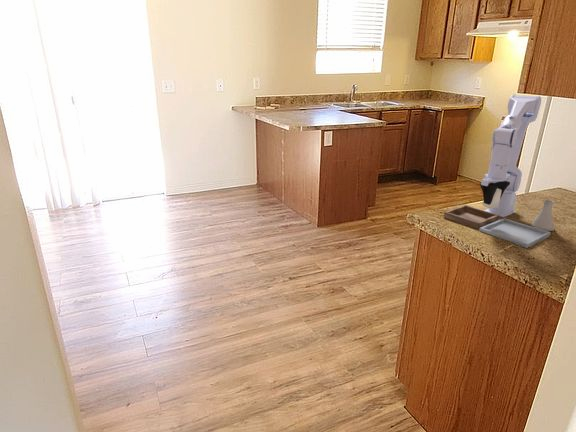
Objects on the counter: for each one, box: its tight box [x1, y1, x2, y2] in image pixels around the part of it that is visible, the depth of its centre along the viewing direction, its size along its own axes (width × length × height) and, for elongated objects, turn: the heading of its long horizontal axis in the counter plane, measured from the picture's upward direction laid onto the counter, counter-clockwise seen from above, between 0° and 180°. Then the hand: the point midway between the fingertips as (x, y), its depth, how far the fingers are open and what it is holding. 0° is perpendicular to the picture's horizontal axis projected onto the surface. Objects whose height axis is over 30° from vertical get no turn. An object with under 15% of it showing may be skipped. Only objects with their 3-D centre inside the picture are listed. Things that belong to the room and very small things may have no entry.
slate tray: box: [478, 217, 552, 249], centre depth 140 cm, size 16×16×2 cm
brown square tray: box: [443, 204, 500, 230], centre depth 152 cm, size 14×14×2 cm
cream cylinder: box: [482, 188, 502, 209], centre depth 144 cm, size 5×5×6 cm
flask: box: [531, 199, 555, 232], centre depth 144 cm, size 7×7×10 cm
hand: (491, 202), depth 145 cm, fingers closed on cream cylinder, 5 cm apart
